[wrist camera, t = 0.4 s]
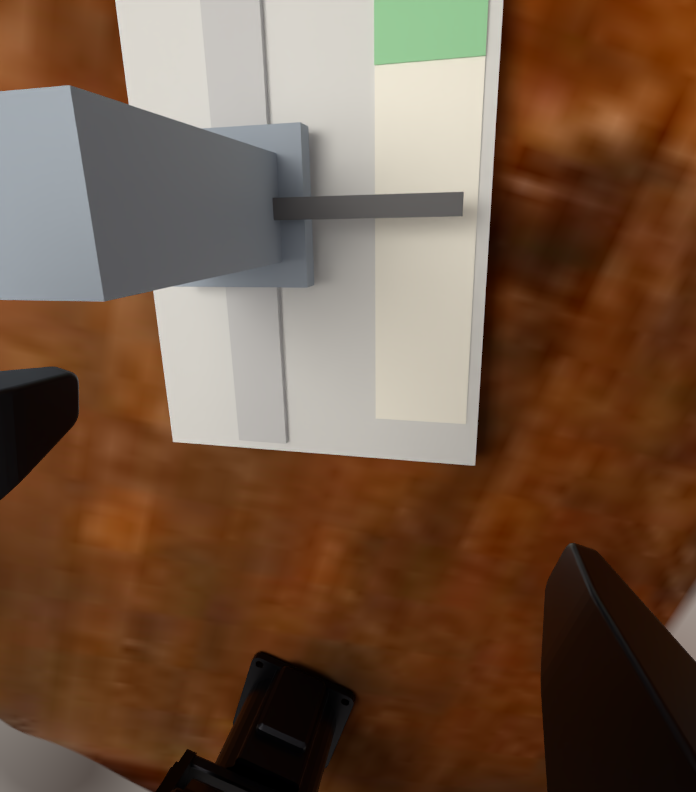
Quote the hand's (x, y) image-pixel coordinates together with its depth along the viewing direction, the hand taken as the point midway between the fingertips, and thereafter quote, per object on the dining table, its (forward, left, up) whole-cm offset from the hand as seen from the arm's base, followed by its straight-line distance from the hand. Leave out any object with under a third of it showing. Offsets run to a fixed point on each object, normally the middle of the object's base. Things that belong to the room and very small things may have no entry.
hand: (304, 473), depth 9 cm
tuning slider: (+3, +5, -14) cm, 15 cm away
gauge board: (+4, +6, -16) cm, 17 cm away
